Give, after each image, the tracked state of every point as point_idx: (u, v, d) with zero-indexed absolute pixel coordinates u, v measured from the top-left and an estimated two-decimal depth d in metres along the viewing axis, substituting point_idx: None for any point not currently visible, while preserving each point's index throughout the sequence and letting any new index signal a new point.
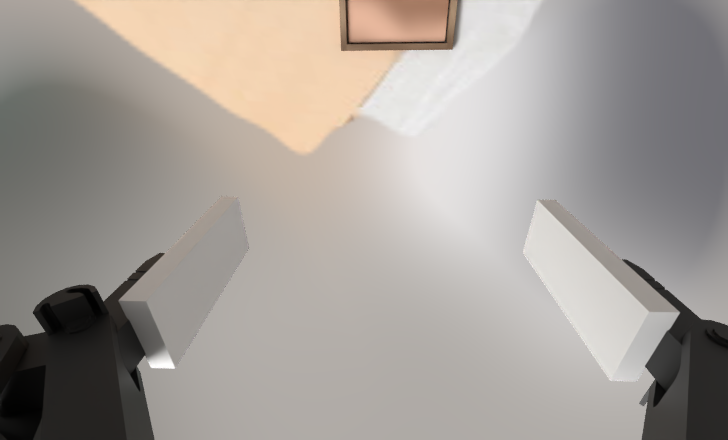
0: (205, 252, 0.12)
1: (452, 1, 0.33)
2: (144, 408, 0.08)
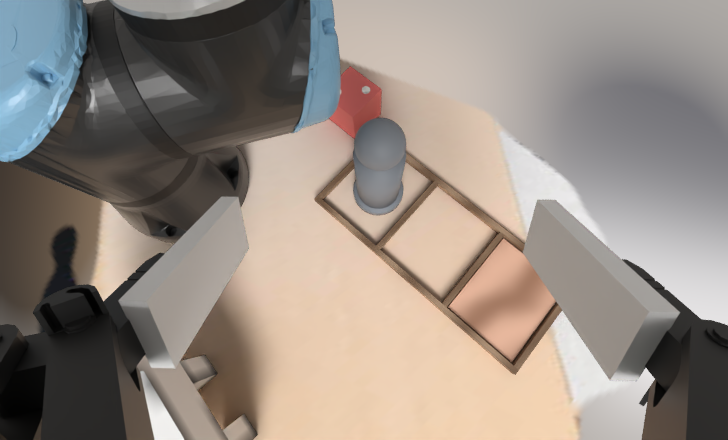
0: (206, 252, 0.12)
1: None
2: (144, 408, 0.08)
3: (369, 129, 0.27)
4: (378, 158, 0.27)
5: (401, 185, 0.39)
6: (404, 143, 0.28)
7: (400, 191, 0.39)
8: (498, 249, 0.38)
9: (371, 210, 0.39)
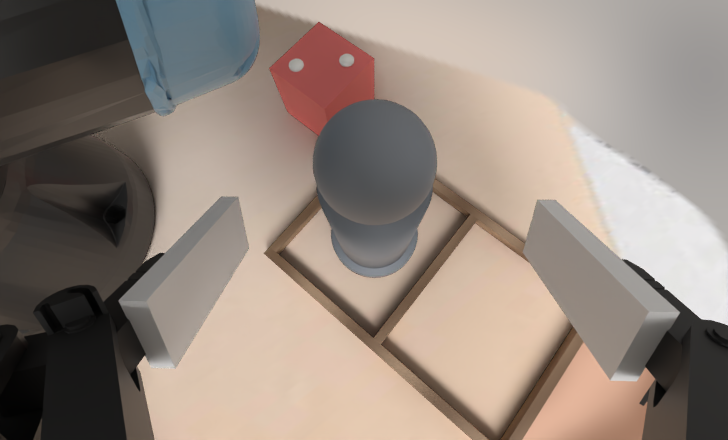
0: (205, 251, 0.12)
1: None
2: (144, 408, 0.08)
3: (344, 128, 0.10)
4: (371, 202, 0.11)
5: None
6: (434, 160, 0.11)
7: (413, 235, 0.23)
8: None
9: (363, 272, 0.22)
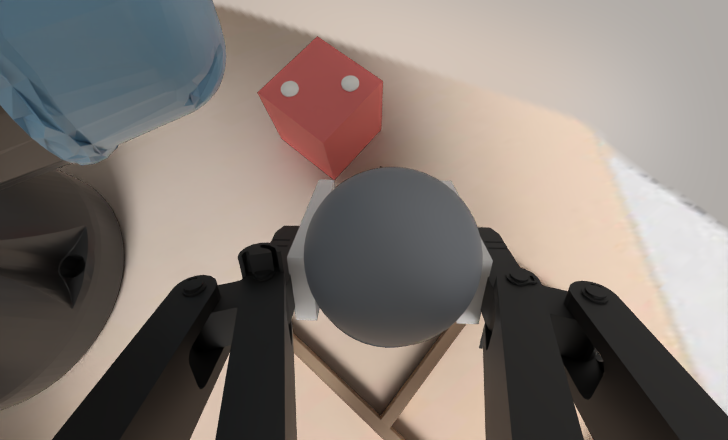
0: None
1: None
2: (292, 361, 0.09)
3: (350, 224, 0.07)
4: (390, 333, 0.07)
5: None
6: (481, 260, 0.08)
7: None
8: None
9: None
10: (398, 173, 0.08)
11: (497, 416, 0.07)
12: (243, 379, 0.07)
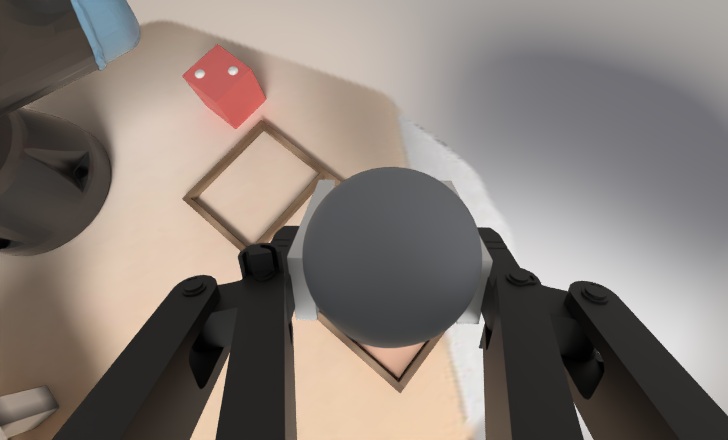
0: None
1: None
2: (292, 361, 0.09)
3: (349, 225, 0.07)
4: (389, 334, 0.07)
5: None
6: (481, 261, 0.08)
7: None
8: None
9: None
10: (397, 173, 0.08)
11: (497, 416, 0.07)
12: (243, 379, 0.07)
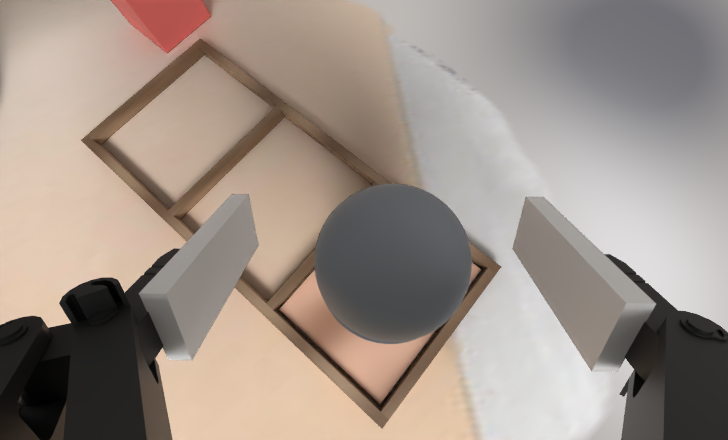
0: (219, 247, 0.12)
1: None
2: (161, 400, 0.08)
3: (357, 236, 0.08)
4: (391, 330, 0.08)
5: None
6: (470, 266, 0.09)
7: None
8: None
9: None
10: (398, 190, 0.09)
11: None
12: (88, 439, 0.06)
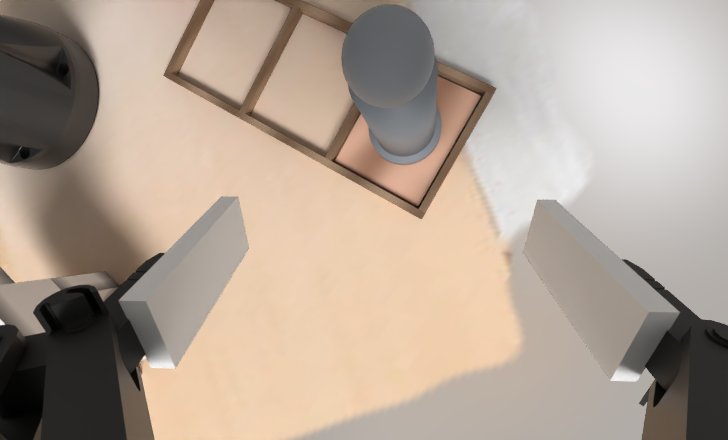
0: (206, 252, 0.12)
1: (444, 71, 0.27)
2: (144, 408, 0.08)
3: (359, 36, 0.15)
4: (389, 86, 0.15)
5: (437, 112, 0.26)
6: (430, 43, 0.15)
7: (437, 121, 0.26)
8: None
9: (401, 160, 0.27)
10: (379, 6, 0.15)
11: None
12: None
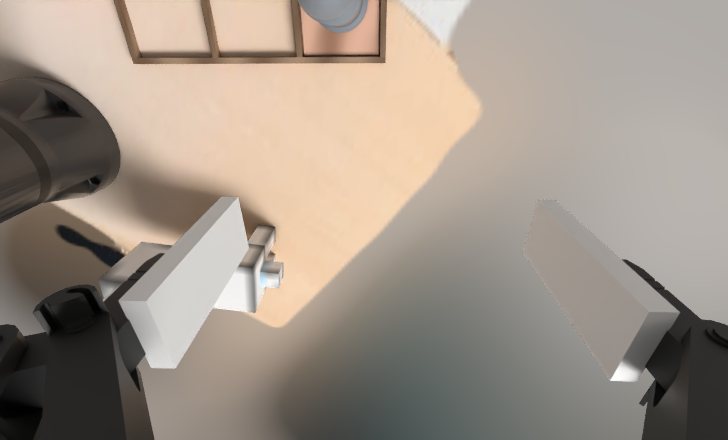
0: (205, 251, 0.12)
1: None
2: (144, 408, 0.08)
3: None
4: (338, 6, 0.24)
5: None
6: None
7: None
8: None
9: (350, 28, 0.35)
10: None
11: None
12: None
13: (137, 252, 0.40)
